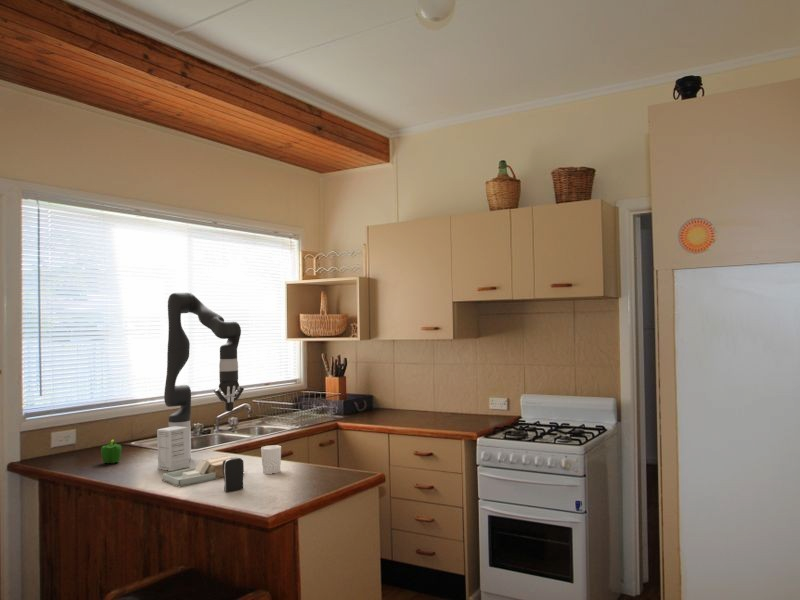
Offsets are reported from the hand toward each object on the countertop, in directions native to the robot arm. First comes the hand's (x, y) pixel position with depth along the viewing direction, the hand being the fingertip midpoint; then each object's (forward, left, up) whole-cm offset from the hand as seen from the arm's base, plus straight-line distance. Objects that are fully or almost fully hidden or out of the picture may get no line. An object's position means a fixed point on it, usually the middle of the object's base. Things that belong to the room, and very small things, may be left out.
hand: (229, 411), depth 260 cm
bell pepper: (-54, -29, -24) cm, 66 cm away
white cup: (+19, +8, -24) cm, 32 cm away
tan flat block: (+4, -6, -24) cm, 25 cm away
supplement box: (-21, -15, -24) cm, 35 cm away
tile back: (+4, -14, -20) cm, 25 cm away
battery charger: (+32, -16, -24) cm, 43 cm away
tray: (+4, -20, -24) cm, 31 cm away
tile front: (+4, -19, -21) cm, 29 cm away
